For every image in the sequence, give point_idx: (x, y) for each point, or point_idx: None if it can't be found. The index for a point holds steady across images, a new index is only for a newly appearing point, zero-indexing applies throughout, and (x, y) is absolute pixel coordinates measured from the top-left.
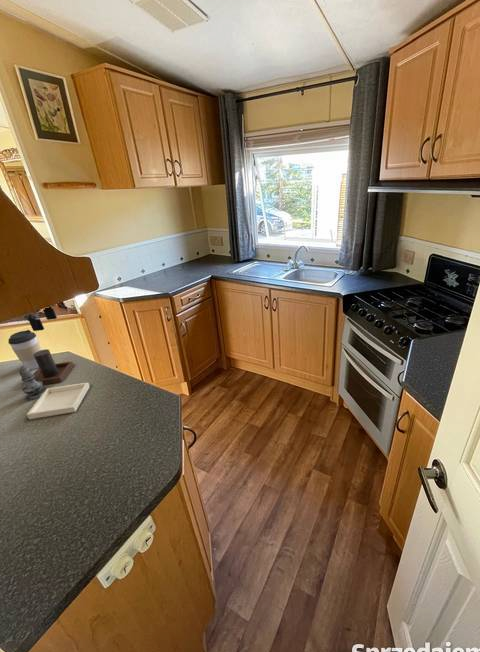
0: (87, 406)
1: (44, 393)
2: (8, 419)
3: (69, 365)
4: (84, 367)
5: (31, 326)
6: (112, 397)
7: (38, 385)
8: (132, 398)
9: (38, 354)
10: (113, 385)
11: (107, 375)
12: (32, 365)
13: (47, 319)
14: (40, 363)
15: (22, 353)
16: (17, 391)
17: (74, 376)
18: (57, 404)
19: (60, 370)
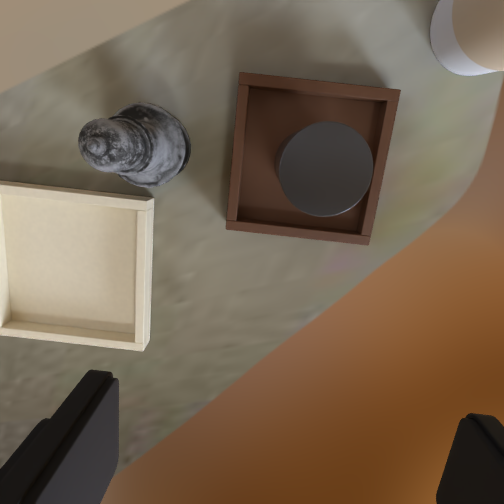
0: (29, 353)
1: (109, 203)
2: (10, 96)
3: (334, 240)
4: (318, 290)
5: (56, 412)
6: None
7: (137, 177)
8: None
9: (304, 159)
10: (132, 412)
11: (210, 386)
12: (439, 29)
13: (462, 419)
14: (278, 157)
15: None
16: (217, 39)
17: (254, 266)
18: (52, 259)
19: None
